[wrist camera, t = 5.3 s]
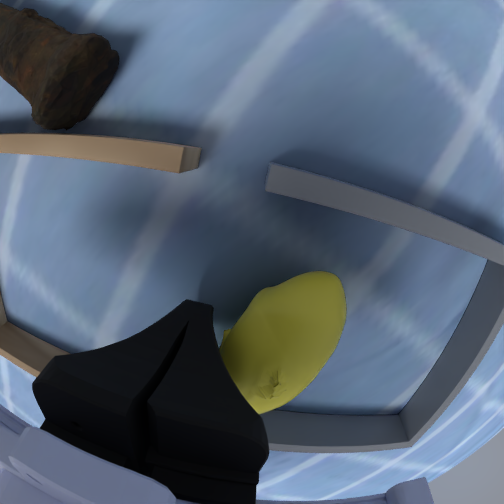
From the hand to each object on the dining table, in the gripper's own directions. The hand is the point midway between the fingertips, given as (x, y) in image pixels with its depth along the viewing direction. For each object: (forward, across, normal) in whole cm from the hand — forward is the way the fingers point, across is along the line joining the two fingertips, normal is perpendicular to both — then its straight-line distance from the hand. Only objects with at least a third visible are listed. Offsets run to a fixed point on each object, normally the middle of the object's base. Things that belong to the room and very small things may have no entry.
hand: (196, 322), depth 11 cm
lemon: (+1, -3, 0) cm, 4 cm away
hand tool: (+2, +14, -12) cm, 19 cm away
